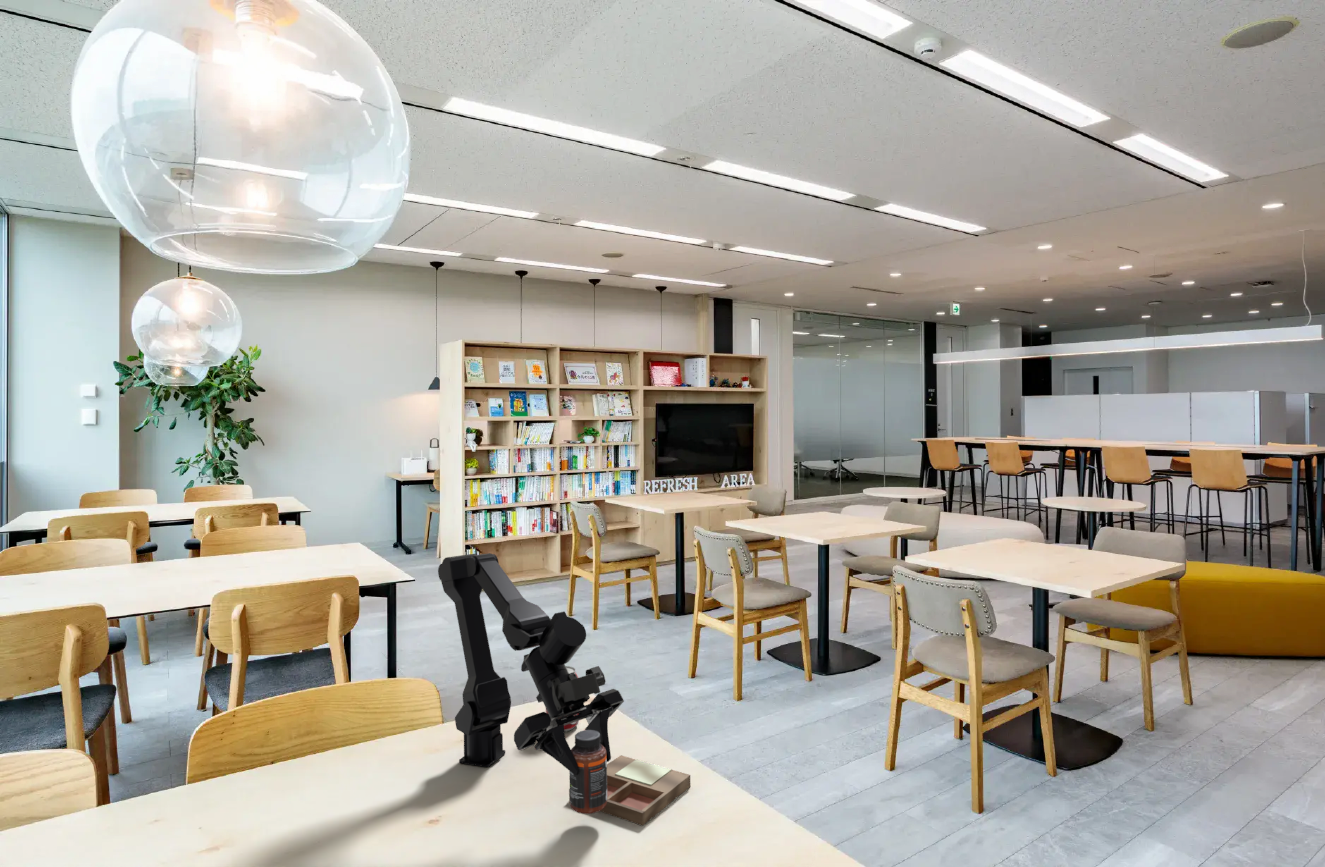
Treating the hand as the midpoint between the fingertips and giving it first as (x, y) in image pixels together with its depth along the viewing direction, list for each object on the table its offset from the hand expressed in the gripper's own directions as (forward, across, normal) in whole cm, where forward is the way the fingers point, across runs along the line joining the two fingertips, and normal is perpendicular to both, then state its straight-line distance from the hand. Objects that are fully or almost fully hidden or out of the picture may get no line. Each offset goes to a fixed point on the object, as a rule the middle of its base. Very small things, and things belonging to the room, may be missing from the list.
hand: (593, 767), depth 112 cm
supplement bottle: (+4, 0, +6) cm, 7 cm away
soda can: (-18, +20, +32) cm, 42 cm away
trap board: (+4, +11, +9) cm, 15 cm away
